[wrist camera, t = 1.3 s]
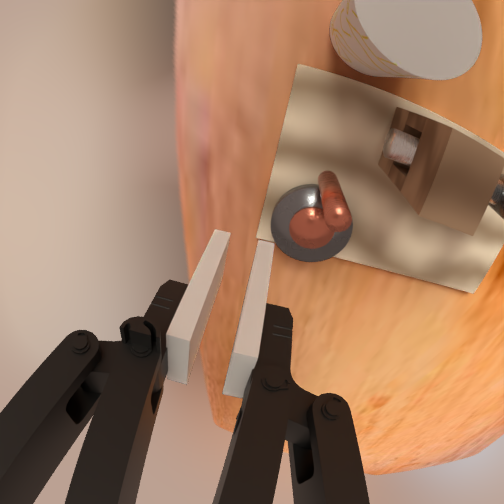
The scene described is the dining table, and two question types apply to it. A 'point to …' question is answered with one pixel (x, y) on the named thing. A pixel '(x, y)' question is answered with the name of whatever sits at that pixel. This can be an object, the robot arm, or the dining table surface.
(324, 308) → the dining table surface
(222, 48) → the dining table surface
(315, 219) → the handwheel
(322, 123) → the block
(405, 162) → the t-handle
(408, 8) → the beige solid cylinder
